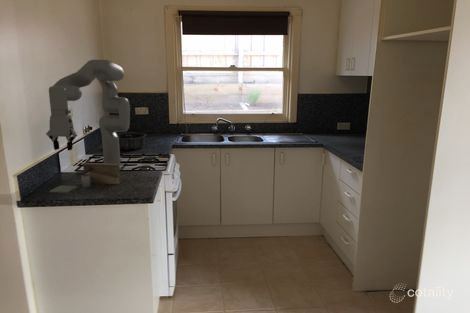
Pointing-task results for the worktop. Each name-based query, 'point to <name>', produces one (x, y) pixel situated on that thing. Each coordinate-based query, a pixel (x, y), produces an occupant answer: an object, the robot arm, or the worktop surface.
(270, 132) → the worktop surface
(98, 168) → the stand
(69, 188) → the mat
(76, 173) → the strap
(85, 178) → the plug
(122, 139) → the bundt pan
